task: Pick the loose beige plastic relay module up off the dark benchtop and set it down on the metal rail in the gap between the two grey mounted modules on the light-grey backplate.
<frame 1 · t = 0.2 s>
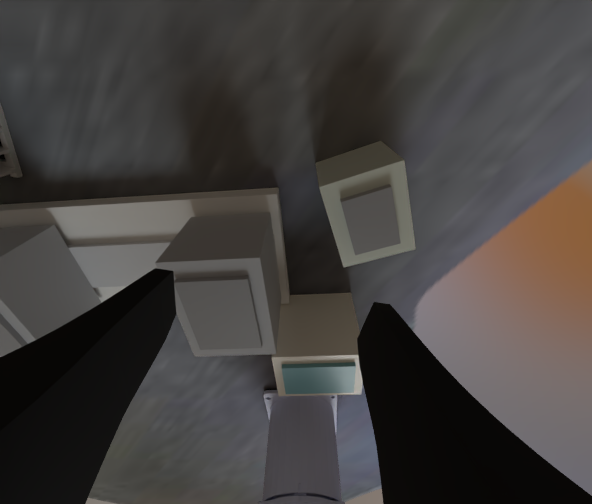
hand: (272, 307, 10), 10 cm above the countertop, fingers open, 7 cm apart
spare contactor: (355, 189, 18), on the countertop
rail board: (152, 253, 21), on the countertop
relay module: (315, 313, 24), on the countertop
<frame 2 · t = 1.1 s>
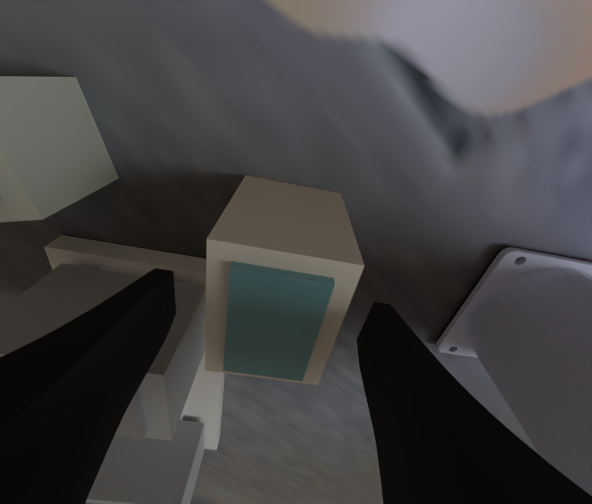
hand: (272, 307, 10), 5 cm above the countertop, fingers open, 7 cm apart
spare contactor: (45, 136, 12), on the countertop
rail board: (163, 363, 20), on the countertop
relay module: (283, 239, 14), on the countertop
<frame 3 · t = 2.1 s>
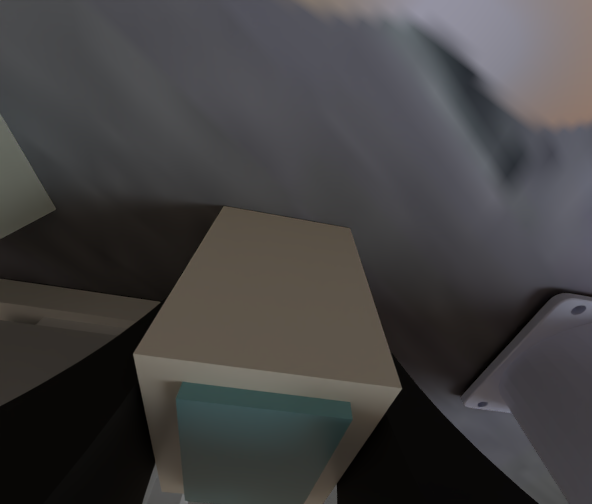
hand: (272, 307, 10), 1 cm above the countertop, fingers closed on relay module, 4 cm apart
rail board: (136, 414, 17), on the countertop
relay module: (275, 282, 11), on the countertop, touching gripper
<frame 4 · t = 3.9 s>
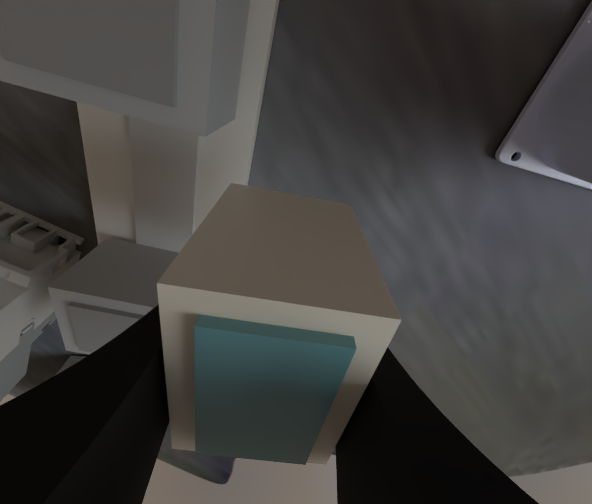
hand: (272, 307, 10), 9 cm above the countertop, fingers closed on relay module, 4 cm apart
rail board: (174, 176, 17), on the countertop
circuit breaker: (21, 279, 22), on the countertop
relay module: (279, 261, 12), point 7 cm above the countertop, touching gripper
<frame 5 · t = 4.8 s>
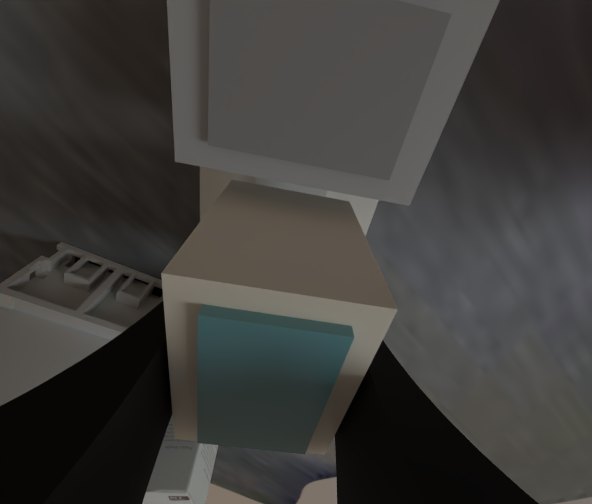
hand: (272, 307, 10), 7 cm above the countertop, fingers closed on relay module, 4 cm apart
skincare box: (190, 410, 28), on the countertop
rail board: (284, 221, 16), on the countertop
circuit breaker: (109, 328, 22), on the countertop
relay module: (279, 257, 12), point 5 cm above the countertop, touching gripper
when the fingers open (5 cm above the countertop, at t = 5.7 s): relay module stays where it is, resting on rail board.
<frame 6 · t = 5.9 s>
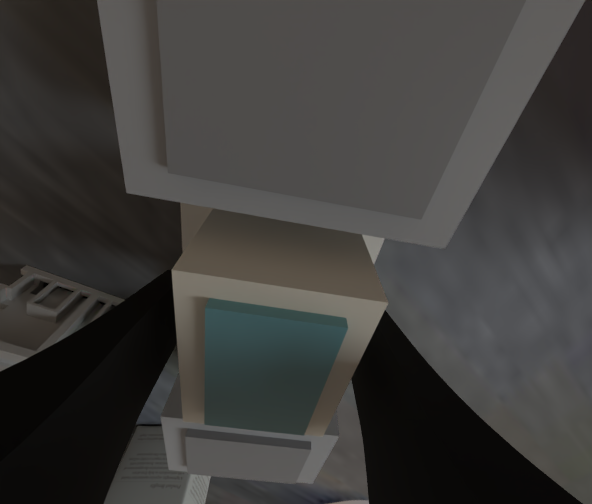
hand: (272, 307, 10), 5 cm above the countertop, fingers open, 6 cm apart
skincare box: (180, 437, 26), on the countertop
rail board: (280, 243, 14), on the countertop
circuit breaker: (88, 356, 19), on the countertop
relay module: (280, 251, 12), point 2 cm above the countertop, touching rail board
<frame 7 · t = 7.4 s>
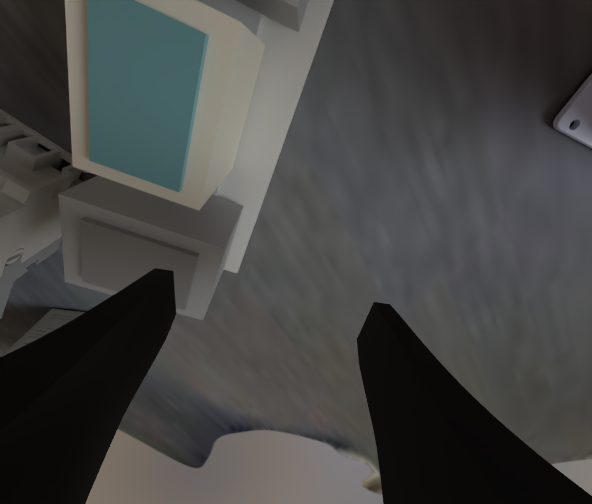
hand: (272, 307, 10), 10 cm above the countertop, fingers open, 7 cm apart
skincare box: (97, 331, 26), on the countertop
rail board: (210, 102, 15), on the countertop
circuit breaker: (7, 210, 19), on the countertop
relay module: (203, 94, 14), point 2 cm above the countertop, touching rail board
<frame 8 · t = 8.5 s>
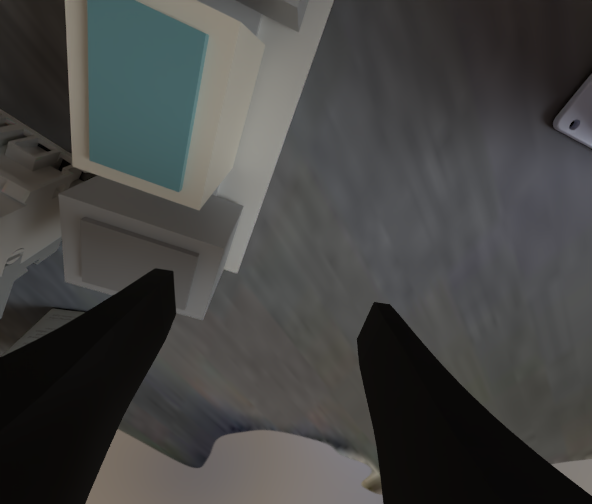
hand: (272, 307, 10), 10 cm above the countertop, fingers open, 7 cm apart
skincare box: (97, 331, 26), on the countertop
rail board: (210, 102, 15), on the countertop
circuit breaker: (6, 210, 19), on the countertop
relay module: (203, 94, 14), point 2 cm above the countertop, touching rail board
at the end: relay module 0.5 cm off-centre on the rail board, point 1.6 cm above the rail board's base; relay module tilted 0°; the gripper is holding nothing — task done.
